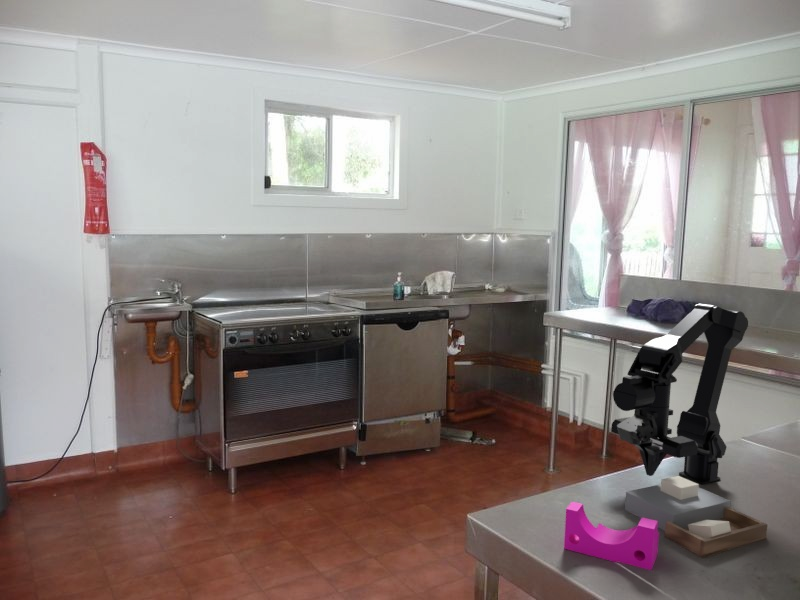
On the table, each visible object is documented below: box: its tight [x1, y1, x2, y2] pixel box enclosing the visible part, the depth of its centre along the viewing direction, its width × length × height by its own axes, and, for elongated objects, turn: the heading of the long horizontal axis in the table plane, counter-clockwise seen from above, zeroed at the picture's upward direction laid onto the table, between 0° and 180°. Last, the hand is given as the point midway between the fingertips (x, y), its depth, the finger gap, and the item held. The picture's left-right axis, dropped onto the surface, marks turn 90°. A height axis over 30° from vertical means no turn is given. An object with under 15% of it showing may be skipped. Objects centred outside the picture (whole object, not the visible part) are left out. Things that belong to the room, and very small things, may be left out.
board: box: [624, 483, 732, 532], centre depth 137 cm, size 12×16×4 cm
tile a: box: [688, 520, 731, 539], centre depth 125 cm, size 5×5×2 cm
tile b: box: [660, 475, 700, 500], centre depth 138 cm, size 5×5×2 cm
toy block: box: [563, 501, 660, 571], centre depth 121 cm, size 15×6×8 cm, turn 60°
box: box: [664, 507, 768, 559], centre depth 127 cm, size 9×17×3 cm, turn 117°
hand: (649, 475), depth 145 cm, fingers closed
